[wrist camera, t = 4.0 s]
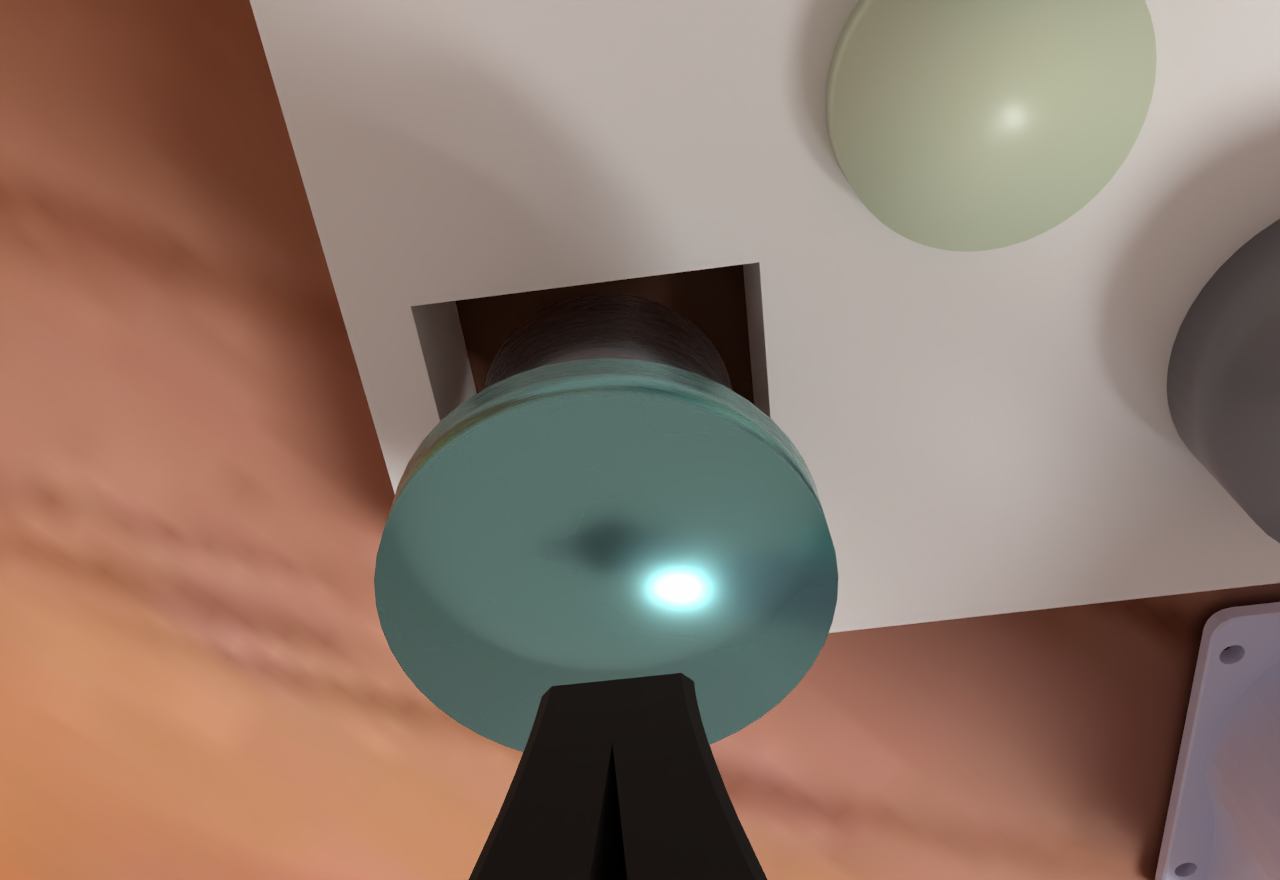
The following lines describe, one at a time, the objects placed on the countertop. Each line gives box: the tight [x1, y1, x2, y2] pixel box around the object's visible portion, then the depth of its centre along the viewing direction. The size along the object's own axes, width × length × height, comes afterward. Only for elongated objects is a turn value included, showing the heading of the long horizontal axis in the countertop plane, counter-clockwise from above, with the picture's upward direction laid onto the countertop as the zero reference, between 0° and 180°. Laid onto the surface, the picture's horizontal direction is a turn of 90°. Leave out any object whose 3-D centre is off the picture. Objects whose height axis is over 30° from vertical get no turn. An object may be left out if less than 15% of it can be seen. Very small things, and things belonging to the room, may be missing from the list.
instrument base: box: [250, 0, 1280, 633], centre depth 14 cm, size 18×18×5 cm
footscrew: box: [374, 294, 838, 752], centre depth 15 cm, size 6×6×5 cm
